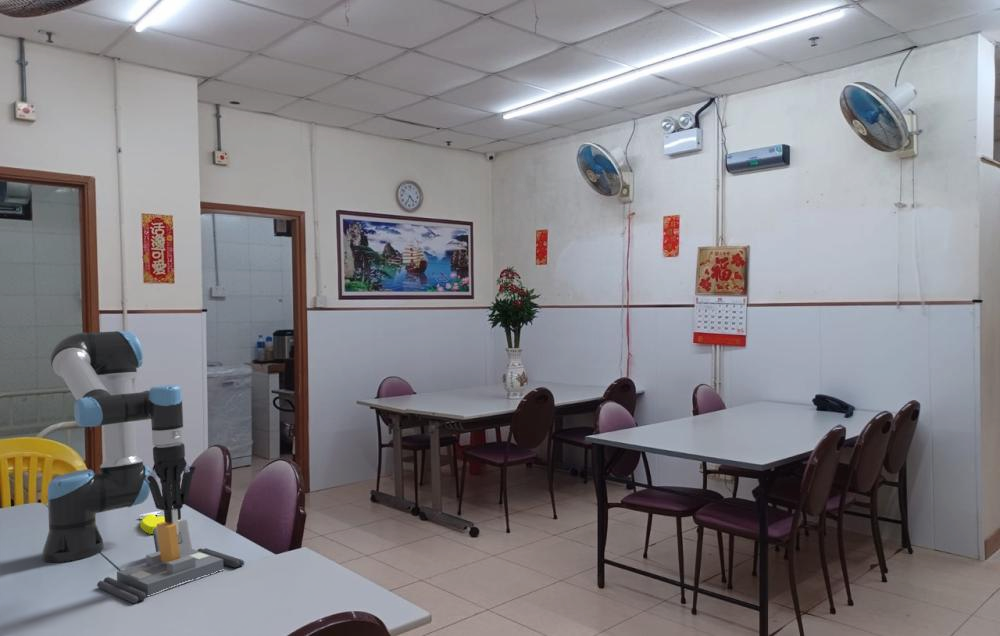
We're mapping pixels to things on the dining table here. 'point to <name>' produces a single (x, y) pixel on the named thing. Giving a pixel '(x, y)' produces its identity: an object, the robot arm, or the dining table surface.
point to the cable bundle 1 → (121, 590)
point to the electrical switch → (183, 536)
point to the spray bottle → (151, 521)
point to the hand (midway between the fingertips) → (173, 533)
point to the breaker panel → (166, 577)
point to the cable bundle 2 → (224, 558)
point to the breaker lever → (168, 541)
